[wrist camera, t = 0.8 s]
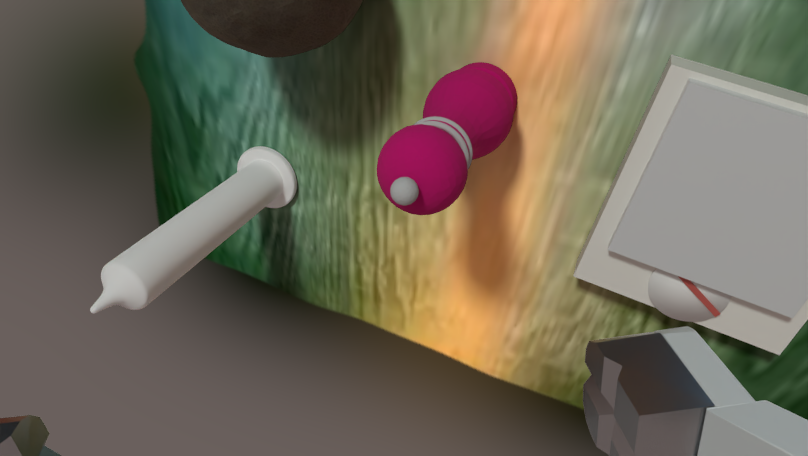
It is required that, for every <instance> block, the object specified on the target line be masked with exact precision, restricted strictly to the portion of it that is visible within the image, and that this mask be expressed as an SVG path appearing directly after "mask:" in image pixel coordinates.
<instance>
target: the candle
mask: <svg viewBox="0 0 808 456" xmlns="http://www.w3.org/2000/svg"><path fill="white" fill-rule="evenodd" d="M296 190H297V179H296V175H295V172H294V170H293V168H292V166H291V165H290V163H289V162H288V161H287V159H286V158H285V157H284V156H283V155H281V154H280V153H279V152H277V151H275V150H273V149H271V148H268V147H264V146H257V147H253V148H250V149H249V150H247V151H246V152H244V153H243V154H242V156H241V157H240V159H239V161H238V166H237V173H236V174H234V175H233V176H231V177H230V178H229V179H227V180H226V181H224V182H223V183H221V184H220V185H219V186H217V187H216V188H214V189H213V190H211V191H210V192H209V193H207V194H206V195H204V196H203V197H201V198H200V199H199V200H197V201H196V202H194V203H193V204H191V205H190V206H189V207H187V208H186V209H184V210H183V211H181V212H180V213H179V214H177V215H176V216H174V217H173V218H171V219H170V220H169V221H167V222H166V223H164V224H163V225H161V226H160V227H159V228H157V229H156V230H154V231H153V232H151V233H150V234H149V235H147V236H146V237H144V238H143V239H141V240H140V241H138V242H137V243H136V244H134V245H133V246H131V247H130V248H129V249H127V250H126V251H124V252H123V253H122V254H120V255H119V256H117V257H116V258H114V259H113V260H111V261H110V262H109V263H107V264H106V265H105V266H104V267H103V269H102V272H101V280H102V284H103V288H104V290H103V292H102V295H101V296H100V297H99V299H98V300H97V301H96V302H95V303H94V305H93V306H92V307H91V309H90V311H91V312H92V313H97V312H99V311H101V310H103V309H106V308H108V307H110V306H114V305H120V306H123V307H125V308H128V309H132V310H138V309H141V308H144V307H145V306H146V305H148V304H149V303H150V302H151V301H153V300H154V299H155V298H156V297H157V296H159V295H160V294H161V293H162V292H163V291H165V290H166V289H167V288H168V287H169V286H171V285H172V284H173V283H174V282H176V281H177V280H178V279H179V278H180V277H181V276H183V275H184V274H185V273H186V272H187V271H189V270H190V269H191V268H192V267H193V266H195V265H196V264H197V263H198V262H199V261H201V260H202V259H203V258H204V257H206V256H207V255H208V254H209V253H210V252H212V251H213V250H214V249H215V248H216V247H218V246H219V245H220V244H221V243H222V242H224V241H225V240H226V239H227V238H228V237H230V236H231V235H232V234H233V233H234V232H236V231H237V230H238V229H239V228H240V227H242V226H243V225H244V224H245V223H246V222H248V221H249V220H250V219H251V218H252V217H254V216H255V215H256V214H257V213H258V212H260V211H261V210H262V209H263V208H264V207H269V208H280V207H283V206H285V205H287V204H288V203H289V202H290V201H291V200H292V199H293V198H294V196H295V194H296Z"/></svg>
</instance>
